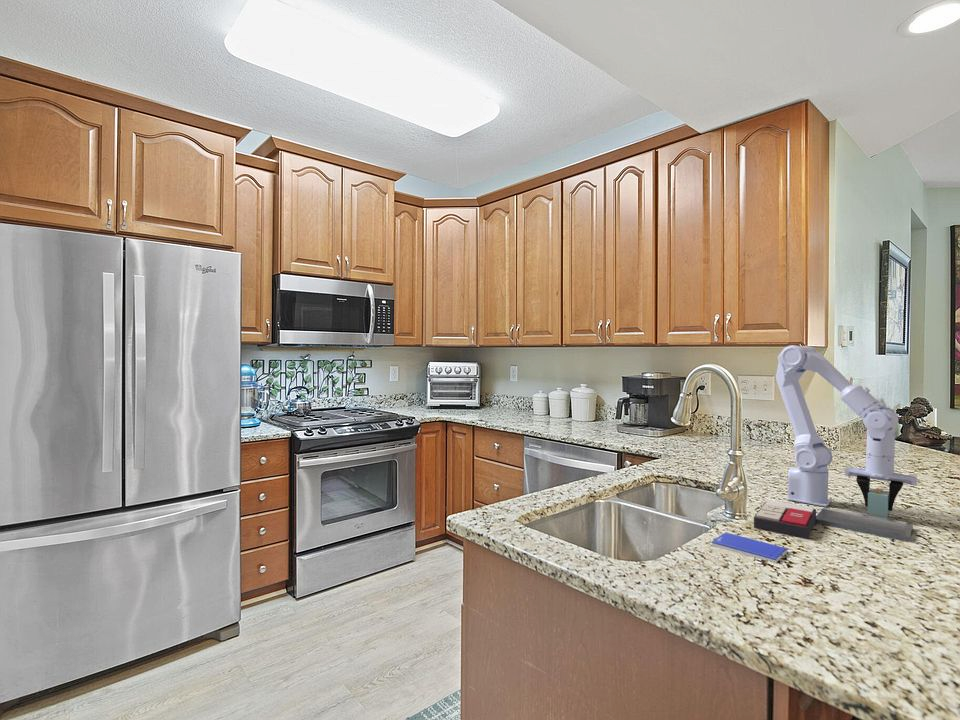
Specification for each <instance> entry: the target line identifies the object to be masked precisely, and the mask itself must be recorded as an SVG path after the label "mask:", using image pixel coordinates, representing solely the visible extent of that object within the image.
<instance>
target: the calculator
mask: <svg viewBox="0 0 960 720" xmlns="http://www.w3.org/2000/svg"><path fill="white" fill-rule="evenodd" d="M816 516H817V509H816V508H814V507H812V506H805V505H799V504H793V503H787V502H781V501H776V500H770V499H767V500H766V501H765V502H764V503H763V504H762V505H761V507H760V509H759V510H758V511H757V512H756V514H755V515H754V516H753V528H754V529H757V530H762V531H766V532H771V533H775V534H776V533H777V534H780V535H787V536H791V537H795V538H801V539H806V540H808V539H809V537H810V536H811V534H812V531H813V528H814V527H815V525H816V524H817V523H816Z"/></svg>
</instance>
